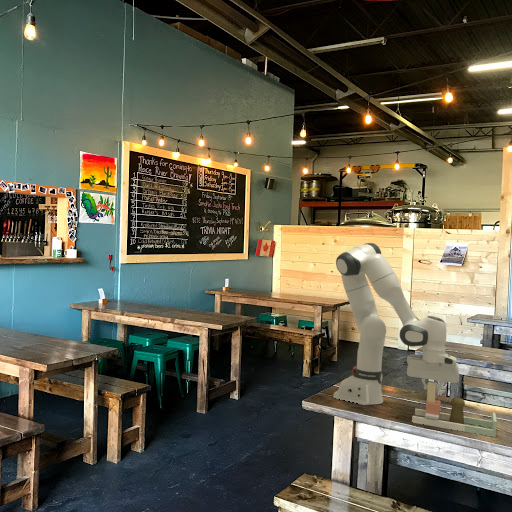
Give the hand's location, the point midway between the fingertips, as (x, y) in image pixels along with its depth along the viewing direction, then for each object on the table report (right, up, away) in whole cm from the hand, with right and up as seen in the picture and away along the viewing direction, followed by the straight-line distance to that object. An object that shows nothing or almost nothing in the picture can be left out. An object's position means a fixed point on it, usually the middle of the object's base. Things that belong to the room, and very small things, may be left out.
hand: (431, 390), depth 204 cm
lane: (+7, -13, -3) cm, 15 cm away
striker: (0, -12, 0) cm, 12 cm away
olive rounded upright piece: (+9, -13, -4) cm, 16 cm away
